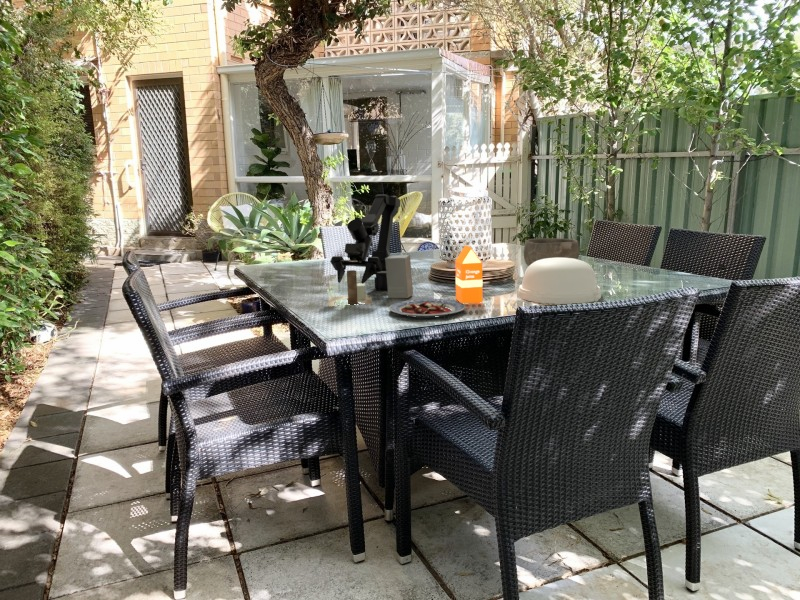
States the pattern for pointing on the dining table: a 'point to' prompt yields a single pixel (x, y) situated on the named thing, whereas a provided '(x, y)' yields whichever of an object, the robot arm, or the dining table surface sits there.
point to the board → (333, 299)
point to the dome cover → (559, 282)
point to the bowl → (550, 249)
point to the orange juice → (468, 277)
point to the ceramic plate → (427, 307)
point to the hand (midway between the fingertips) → (350, 282)
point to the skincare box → (399, 276)
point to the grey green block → (361, 291)
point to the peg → (352, 287)
